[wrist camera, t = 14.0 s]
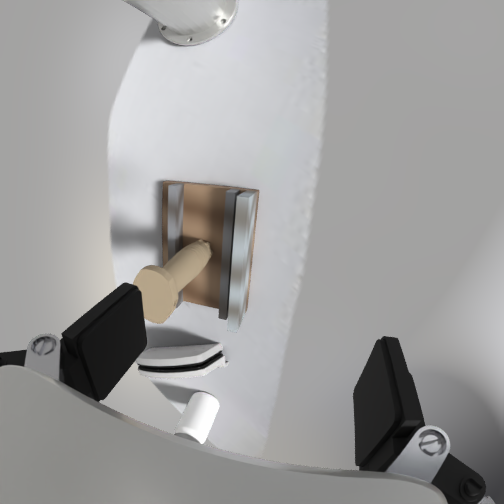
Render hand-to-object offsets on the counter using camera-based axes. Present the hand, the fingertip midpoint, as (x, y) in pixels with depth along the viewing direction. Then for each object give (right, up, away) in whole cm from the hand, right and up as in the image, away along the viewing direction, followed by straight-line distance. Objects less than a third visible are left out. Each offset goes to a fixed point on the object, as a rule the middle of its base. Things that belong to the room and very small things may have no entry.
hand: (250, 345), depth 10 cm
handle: (-7, +4, +32) cm, 33 cm away
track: (-7, +4, +33) cm, 34 cm away
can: (-10, -29, +46) cm, 56 cm away
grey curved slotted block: (-13, -15, +42) cm, 46 cm away
